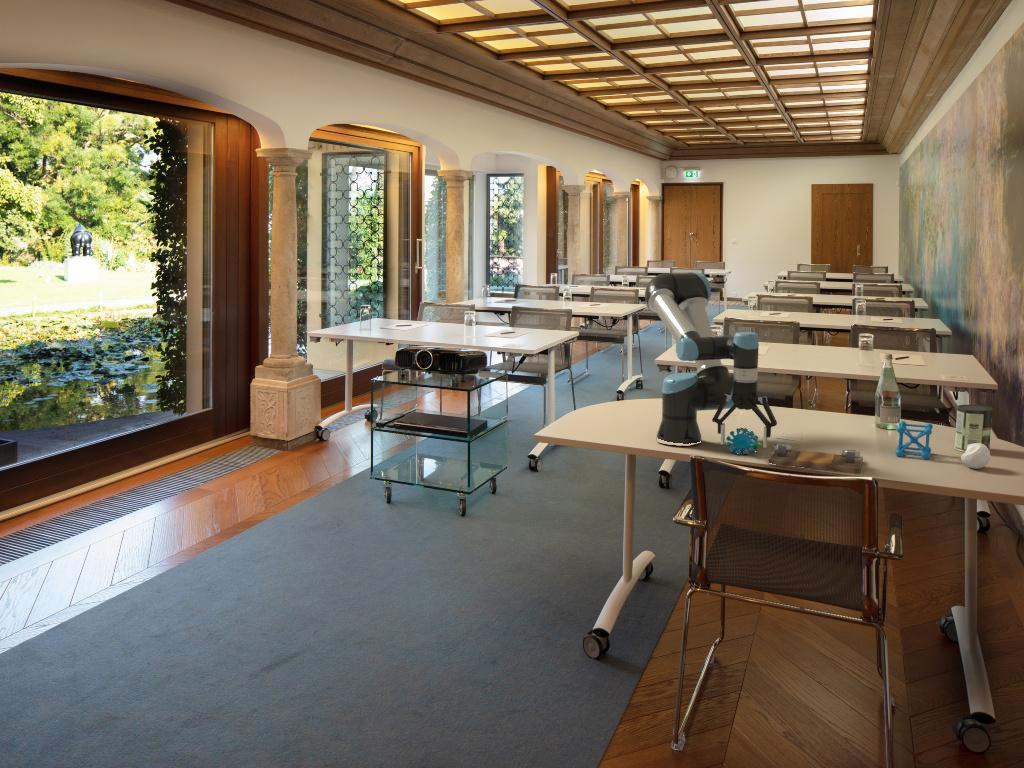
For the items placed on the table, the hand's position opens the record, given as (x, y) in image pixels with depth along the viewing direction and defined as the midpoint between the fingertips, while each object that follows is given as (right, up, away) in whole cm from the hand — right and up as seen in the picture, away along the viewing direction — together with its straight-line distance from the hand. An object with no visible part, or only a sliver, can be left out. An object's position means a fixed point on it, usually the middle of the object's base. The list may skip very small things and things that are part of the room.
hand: (743, 445), depth 278 cm
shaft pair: (+19, -3, -13) cm, 23 cm away
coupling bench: (+19, -5, -13) cm, 23 cm away
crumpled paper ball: (+64, -6, -21) cm, 67 cm away
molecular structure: (+53, -3, -5) cm, 53 cm away
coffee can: (+74, -2, 0) cm, 74 cm away
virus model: (0, -3, +1) cm, 3 cm away
